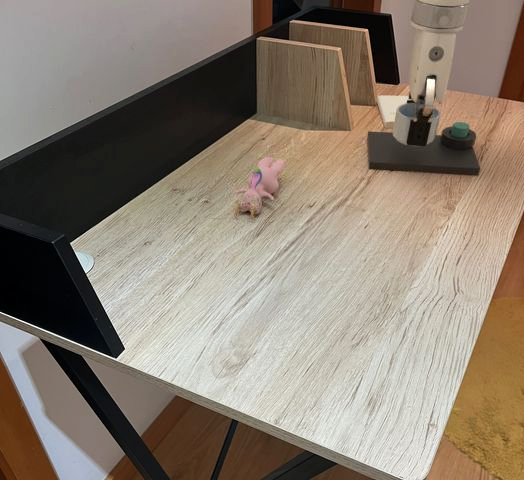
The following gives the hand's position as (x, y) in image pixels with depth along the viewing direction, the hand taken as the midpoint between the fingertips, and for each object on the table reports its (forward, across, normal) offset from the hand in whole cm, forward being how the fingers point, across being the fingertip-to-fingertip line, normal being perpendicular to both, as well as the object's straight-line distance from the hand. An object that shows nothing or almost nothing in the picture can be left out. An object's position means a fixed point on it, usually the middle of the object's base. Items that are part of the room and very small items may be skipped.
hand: (414, 133), depth 95 cm
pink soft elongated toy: (+5, -15, +24) cm, 29 cm away
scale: (+5, +2, -2) cm, 6 cm away
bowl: (+1, 0, 0) cm, 1 cm away
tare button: (+2, +6, -9) cm, 10 cm away
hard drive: (+5, +19, 0) cm, 20 cm away
